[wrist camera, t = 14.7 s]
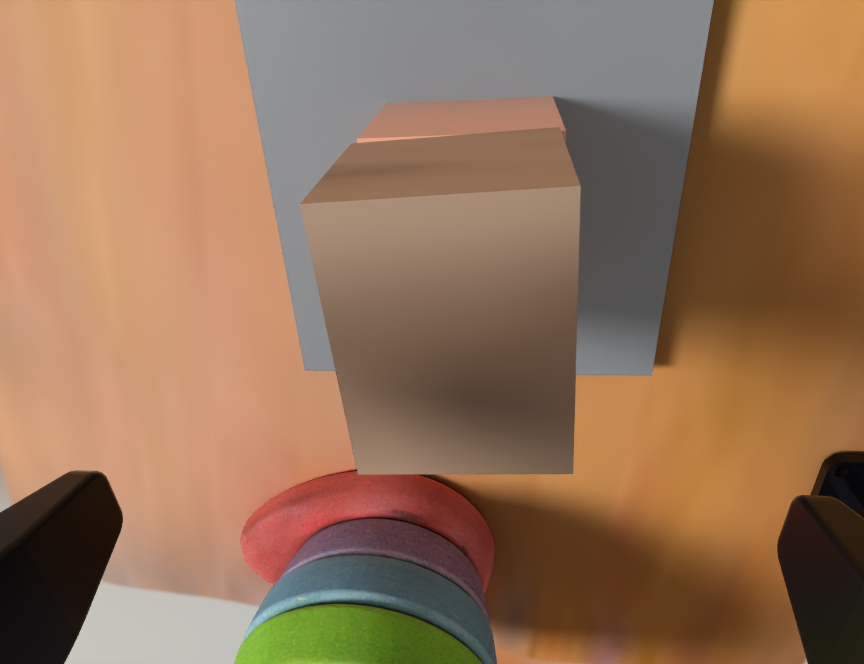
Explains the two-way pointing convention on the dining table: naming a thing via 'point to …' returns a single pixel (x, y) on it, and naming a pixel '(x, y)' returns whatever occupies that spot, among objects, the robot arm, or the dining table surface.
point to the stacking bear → (370, 574)
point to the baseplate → (492, 79)
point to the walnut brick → (452, 300)
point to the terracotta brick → (462, 118)
